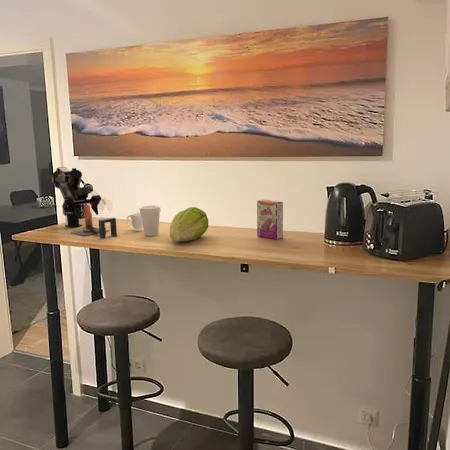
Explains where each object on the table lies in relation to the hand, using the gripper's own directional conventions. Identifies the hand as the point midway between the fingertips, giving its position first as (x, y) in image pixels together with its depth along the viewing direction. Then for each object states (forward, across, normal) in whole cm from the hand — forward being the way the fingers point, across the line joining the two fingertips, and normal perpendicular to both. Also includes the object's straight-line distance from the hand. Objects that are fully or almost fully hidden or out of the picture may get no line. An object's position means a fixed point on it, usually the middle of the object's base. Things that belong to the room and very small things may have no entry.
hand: (89, 215), depth 234 cm
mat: (+5, 0, +6) cm, 8 cm away
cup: (+15, +17, -4) cm, 23 cm away
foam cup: (+25, +16, -14) cm, 33 cm away
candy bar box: (+58, +46, -47) cm, 88 cm away
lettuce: (+41, +19, -29) cm, 54 cm away
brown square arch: (+17, 0, -6) cm, 18 cm away
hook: (+8, 0, +2) cm, 9 cm away
